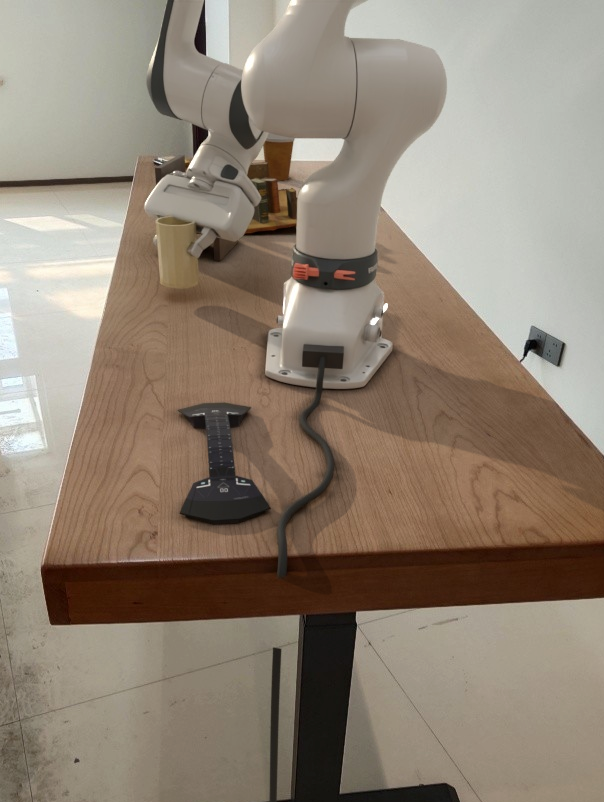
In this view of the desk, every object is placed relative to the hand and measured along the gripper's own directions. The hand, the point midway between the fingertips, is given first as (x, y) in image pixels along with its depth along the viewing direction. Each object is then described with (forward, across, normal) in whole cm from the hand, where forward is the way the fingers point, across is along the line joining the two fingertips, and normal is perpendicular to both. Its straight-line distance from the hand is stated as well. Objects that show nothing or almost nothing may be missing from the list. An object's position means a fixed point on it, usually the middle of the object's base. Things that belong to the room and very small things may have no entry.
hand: (175, 250), depth 120 cm
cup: (+3, 0, +4) cm, 5 cm away
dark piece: (+30, +41, -18) cm, 54 cm away
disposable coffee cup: (-58, -51, +68) cm, 102 cm away
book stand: (-30, -27, +41) cm, 57 cm away
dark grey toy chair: (-11, -18, +22) cm, 30 cm away
